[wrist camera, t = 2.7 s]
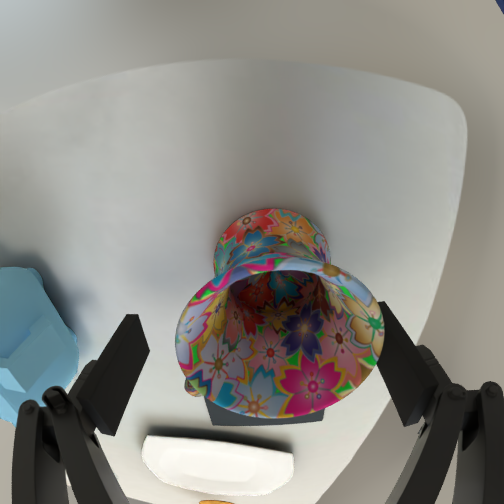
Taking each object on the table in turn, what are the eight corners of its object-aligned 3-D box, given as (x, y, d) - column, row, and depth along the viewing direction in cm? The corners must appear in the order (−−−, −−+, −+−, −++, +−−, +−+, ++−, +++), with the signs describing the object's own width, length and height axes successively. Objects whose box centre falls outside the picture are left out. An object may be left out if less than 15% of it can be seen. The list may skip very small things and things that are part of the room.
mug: (276, 172, 19) (296, 205, 9) (355, 263, 21) (415, 351, 11) (164, 279, 22) (110, 372, 12) (245, 347, 25) (239, 449, 15)
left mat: (334, 346, 24) (335, 348, 24) (321, 418, 29) (322, 421, 28) (193, 352, 25) (192, 355, 25) (213, 422, 29) (212, 425, 29)
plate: (311, 435, 30) (313, 447, 28) (276, 490, 39) (276, 498, 37) (132, 412, 30) (128, 423, 28) (154, 474, 38) (152, 482, 36)
